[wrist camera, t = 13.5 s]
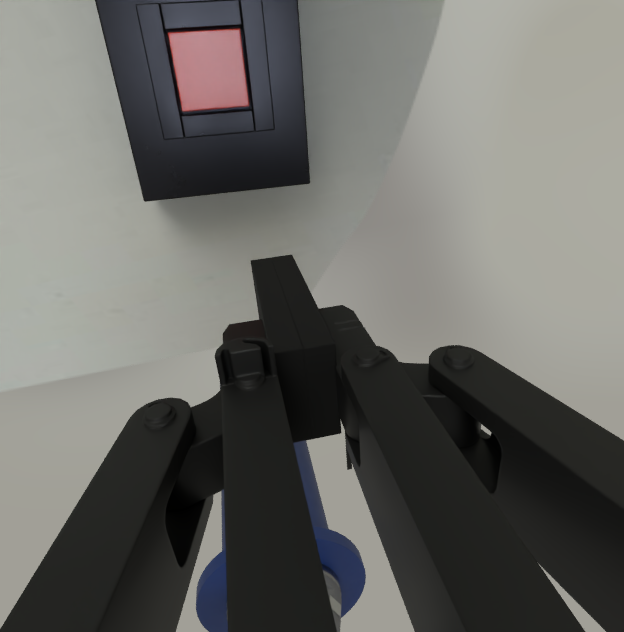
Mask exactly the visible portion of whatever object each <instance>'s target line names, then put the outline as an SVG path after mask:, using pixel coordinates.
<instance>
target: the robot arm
mask: <svg viewBox="0 0 624 632" xmlns="http://www.w3.org/2000/svg"><path fill="white" fill-rule="evenodd" d="M251 266H252V273H253V280H254V286H255V293H256V299H257V306H258V312H259V319H260V320H254V321H248V322H242V323H236V324H229V326H228V327H227V329H226V330H225V331H224V333H223V344H222V345H221V346H220V347H219V348H218V349H217V351H216V353H215V360H216V364H217V369H218V374H219V378H220V383H221V390H220V391H219V392H218V393H217V394H216V395H215V396H214V397H212V398H211V399H209V400H207V401H205V402H203V403H201V404H199V405H196V406H194V407H190V406H189V404H188V402H186V401H184V400H182V399H178V398H165V399H159V400H156V401H153V402H151V403H148V404H146V405H144V406H143V407H141V408H140V409H138V410H137V411H136V412H135V413H134V414H133V415H132V416H131V417H130V419H129V420H128V422H127V423H126V425H125V427H124V428H123V430H122V432H121V433H120V435H119V437H118V438H117V440H116V441H115V443H114V445H113V446H112V448H111V450H110V451H109V453H108V454H107V456H106V458H105V459H104V461H103V463H102V464H101V466H100V467H99V469H98V471H97V472H96V474H95V476H94V477H93V479H92V480H91V482H90V484H89V485H88V487H87V489H86V490H85V492H84V494H83V495H82V497H81V499H80V500H79V502H78V503H77V505H76V507H75V509H74V510H73V511H72V513H71V515H70V516H69V518H68V520H67V521H66V523H65V525H64V526H63V528H62V529H61V531H60V533H59V534H58V536H57V538H56V539H55V541H54V542H53V544H52V546H51V547H50V549H49V551H48V552H47V554H46V555H45V557H44V559H43V561H42V562H41V564H40V566H39V567H38V569H37V570H36V572H35V573H34V575H33V577H32V578H31V580H30V582H29V583H28V585H27V587H26V588H25V590H24V591H23V593H22V595H21V596H20V598H19V600H18V601H17V603H16V605H15V606H14V608H13V609H12V611H11V613H10V614H9V616H8V617H7V619H6V621H5V622H4V624H3V626H2V627H1V629H0V632H176V628H177V625H178V621H179V618H180V615H181V611H182V608H183V604H184V601H185V597H186V594H187V591H188V587H189V583H190V580H191V576H192V573H193V570H194V566H195V563H196V559H197V556H198V552H199V549H200V545H201V542H202V538H203V535H204V532H205V528H206V525H207V521H208V518H209V514H210V511H211V507H212V504H213V495H214V494H215V493H218V492H220V491H222V490H224V509H225V545H226V581H227V622H228V632H340V622H341V620H340V619H341V604H342V598H341V589H340V585H339V581H338V578H337V576H336V574H335V573H334V571H333V570H332V569H330V568H329V567H328V566H326V565H324V564H322V563H321V560H320V556H319V552H318V547H317V543H316V539H315V534H314V530H313V526H312V521H311V517H310V513H309V509H308V504H307V500H306V496H305V491H304V487H303V483H302V478H301V474H300V470H299V465H298V461H297V457H296V452H295V448H294V444H293V443H295V442H300V441H305V440H310V439H315V438H320V437H325V436H330V435H335V434H340V433H341V423H340V419H341V421H342V424H343V426H344V429H345V439H346V453H347V454H346V455H347V469H352V464H353V467H354V469H355V472H356V475H357V477H358V480H359V483H360V485H361V488H362V491H363V493H364V496H365V499H366V501H367V504H368V507H369V510H370V512H371V515H372V518H373V520H374V523H375V526H376V528H377V531H378V534H379V537H380V539H381V542H382V545H383V547H384V550H385V553H386V555H387V558H388V560H389V563H390V566H391V569H392V571H393V574H394V577H395V580H396V582H397V585H398V588H399V590H400V593H401V596H402V598H403V601H404V604H405V606H406V609H407V612H408V614H409V617H410V620H411V623H412V625H413V628H414V631H415V632H585V631H584V630H583V628H582V626H581V625H580V624H579V622H578V621H577V619H576V618H575V616H574V615H573V614H572V612H571V610H570V609H569V608H568V606H567V605H566V603H565V602H564V600H563V599H562V597H561V596H560V595H559V593H558V592H557V590H556V589H555V587H554V586H553V584H552V583H551V582H550V580H549V579H548V577H547V576H546V574H545V573H544V571H543V570H542V569H541V567H540V566H539V564H540V565H541V566H542V567H543V568H544V569H545V570H546V571H547V572H548V573H549V574H550V575H551V576H552V577H553V578H554V579H555V580H556V581H557V582H558V583H559V584H560V586H561V587H563V588H564V589H565V591H567V593H568V594H569V595H570V596H572V597H573V599H574V600H576V602H577V603H578V604H580V605H581V607H583V609H584V610H585V611H586V612H587V613H588V614H589V615H591V617H592V618H593V619H594V620H596V622H597V623H598V624H600V626H601V627H602V628H603V629H604V630H605V631H606V632H624V441H623V440H622V439H620V438H619V437H617V436H615V435H614V434H612V433H610V432H609V431H607V430H606V429H604V428H602V427H601V426H599V425H598V424H596V423H594V422H593V421H591V420H589V419H588V418H586V417H585V416H583V415H581V414H580V413H578V412H576V411H575V410H573V409H572V408H570V407H568V406H567V405H565V404H564V403H562V402H560V401H559V400H557V399H555V398H554V397H552V396H551V395H549V394H547V393H546V392H544V391H542V390H541V389H539V388H538V387H536V386H534V385H533V384H531V383H530V382H528V381H526V380H525V379H523V378H521V377H520V376H518V375H516V374H515V373H513V372H511V371H510V370H508V369H507V368H505V367H504V366H502V365H500V364H499V363H497V362H496V361H494V360H492V359H491V358H489V357H487V356H486V355H484V354H483V353H481V352H479V351H477V350H475V349H472V348H469V347H464V346H460V345H455V346H454V345H451V346H445V347H440V348H438V349H436V350H434V351H433V352H432V353H431V355H430V356H429V364H414V363H402V362H398V360H397V359H396V357H395V356H394V355H393V354H392V353H391V352H390V351H389V350H387V349H385V348H382V347H380V346H376V345H375V343H374V342H373V340H372V339H371V337H370V336H369V334H368V333H367V331H366V330H365V328H364V327H363V325H362V323H361V322H360V321H359V319H358V318H357V316H356V314H355V313H354V311H352V310H351V309H349V308H347V307H345V306H343V305H340V306H334V307H328V308H321V309H318V307H317V305H316V303H315V301H314V299H313V297H312V295H311V293H310V291H309V289H308V286H307V284H306V282H305V280H304V278H303V276H302V274H301V272H300V270H299V268H298V266H297V264H296V262H295V260H294V258H293V256H292V255H286V256H279V257H272V258H265V259H258V260H251ZM481 424H482V425H484V426H485V427H486V428H487V429H489V430H490V431H491V432H492V433H491V436H490V435H488V434H487V433H485V432H484V431H483V430H481ZM351 463H352V464H351ZM537 562H538V563H539V564H538V563H537Z"/></svg>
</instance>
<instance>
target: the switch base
mask: <svg viewBox="0 0 624 632" xmlns="http://www.w3.org/2000/svg"><path fill="white" fill-rule="evenodd" d="M95 2H96V6H97V10H98V14H99V18H100V22H101V26H102V31H103V35H104V39H105V43H106V47H107V51H108V55H109V59H110V63H111V67H112V71H113V76H114V80H115V84H116V88H117V92H118V96H119V100H120V104H121V108H122V112H123V116H124V121H125V125H126V129H127V133H128V137H129V141H130V145H131V149H132V153H133V157H134V161H135V166H136V170H137V174H138V178H139V182H140V186H141V190H142V194H143V198H144V201H155V200H164V199H173V198H182V197H192V196H201V195H210V194H219V193H228V192H237V191H246V190H256V189H265V188H274V187H283V186H292V185H301V184H309V183H310V173H309V159H308V144H307V129H306V115H305V100H304V85H303V71H302V56H301V41H300V27H299V12H298V0H95ZM234 28H240V32H241V40H242V48H243V57H244V65H245V73H246V81H247V90H248V98H249V106H247V107H235V108H223V109H211V110H199V111H188V112H183V111H182V108H181V103H180V97H179V92H178V87H177V81H176V76H175V70H174V65H173V60H172V54H171V49H170V44H169V38H168V32H183V31H200V30H217V29H234Z"/></svg>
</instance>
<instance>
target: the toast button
mask: <svg viewBox="0 0 624 632" xmlns="http://www.w3.org/2000/svg"><path fill="white" fill-rule="evenodd" d="M168 38H169V44H170V49H171V54H172V60H173V65H174V70H175V76H176V81H177V87H178V92H179V97H180V103H181V108H182V111H183V112H188V111H199V110H211V109H223V108H235V107H247V106H249V98H248V90H247V81H246V73H245V65H244V57H243V48H242V40H241V32H240V28H234V29H217V30H200V31H183V32H168Z"/></svg>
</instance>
